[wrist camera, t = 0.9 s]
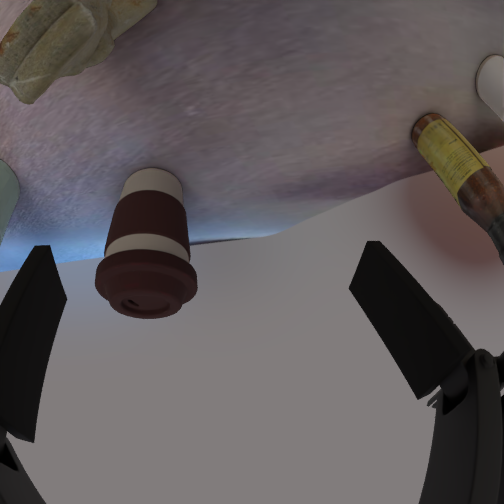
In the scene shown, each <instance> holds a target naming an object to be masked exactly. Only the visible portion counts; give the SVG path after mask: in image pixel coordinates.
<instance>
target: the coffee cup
mask: <svg viewBox="0 0 504 504" xmlns="http://www.w3.org/2000/svg"><path fill="white" fill-rule="evenodd" d="M104 256H105V258H104V259H103V260H102V261H101V262H100V263H99V265H98V267H97V270H96V278H95V287H96V289H97V291H98V292H99V294H100V295H101V296H102V297H103V298H105V299H106V300H108V301H109V303H110V305H111V307H112V308H113V309H114V310H116V311H117V312H119V313H121V314H124V315H126V316H130V317H134V318H142V319H156V318H163V317H167V316H170V315H173V314H175V313H177V312H178V311H179V310H180V309H181V307H182V304H184V303H186V302H188V301H190V300H191V299H192V298H193V297H194V296H195V294H196V292H197V288H198V287H197V274H196V271H195V270H194V268H193V267H192V265H191V264H189V262H190V246H189V237H188V228H187V218H186V211H185V209H184V206H183V193H182V187H181V184H180V182H179V181H178V179H177V178H176V177H175V176H174V175H172V174H171V173H169V172H167V171H165V170H161V169H156V168H148V169H143V170H139V171H137V172H135V173H134V174H132V175H131V176H130V177H129V178H128V179H127V180H126V182H125V184H124V187H123V190H122V193H121V197H120V200H119V202H118V204H117V206H116V208H115V211H114V214H113V218H112V221H111V225H110V229H109V233H108V237H107V241H106V245H105V250H104Z"/></svg>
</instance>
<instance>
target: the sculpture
mask: <svg viewBox="0 0 504 504" xmlns="http://www.w3.org/2000/svg"><path fill="white" fill-rule="evenodd" d="M156 5H157V0H33V1H32V2H31V3H30V4H29V6H28V7H27V8H26V9H25V10H24V11H23V12H22V14H21V15H20V16H19V17H17V19H16V21H15V22H14V23H13V25H12V26H11V28H10V29H9V31H8V32H7V34H6V35H5V36H4V38H3V39H2V41H1V43H0V83H1V84H3V85H6V86H8V87H9V88H11V89H12V91H13V92H14V94H15V96H16V97H17V98H18V99H19V101H21V102H23V103H25V104H33V103H34V102H35V100H36V99H38V98H39V97H40V96H41V95H42V94H43V93H44V92H45V91H46V90H47V89H48V88H49V86H50V85H51V84H52V83H53V82H54V81H55V80H56V79H58V78H60V77H64V76H75V75H78V74H80V73H81V72H82V71H84V70H85V68H88V67H91V66H94V65H97V64H99V63H101V62H103V61H104V60H105V59H106V58H107V57H108V55H109V54H110V53H111V52H112V50H113V48H114V45H115V44H114V40H115V39H116V38H117V37H119V36H120V35H121V34H123V33H124V32H125V31H126V30H128V29H129V28H130V27H132V26H133V25H134V24H136V23H137V22H138V21H139V20H141V19H142V18H143V17H144V16H146V15H147V14H148V13H149V12H151V11H152V10H153V9H154V8H155V7H156Z"/></svg>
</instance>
